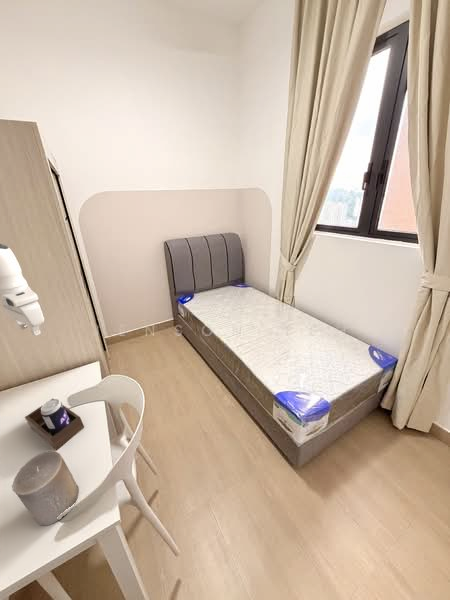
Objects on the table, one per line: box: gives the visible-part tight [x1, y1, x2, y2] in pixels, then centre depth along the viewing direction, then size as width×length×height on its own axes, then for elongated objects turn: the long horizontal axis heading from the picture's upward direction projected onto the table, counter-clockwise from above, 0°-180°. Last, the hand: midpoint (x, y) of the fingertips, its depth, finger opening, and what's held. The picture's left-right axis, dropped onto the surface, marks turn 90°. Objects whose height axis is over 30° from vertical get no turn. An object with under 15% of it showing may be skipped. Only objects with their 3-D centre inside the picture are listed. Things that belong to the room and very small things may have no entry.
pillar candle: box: [11, 450, 80, 527], centre depth 58 cm, size 10×10×15 cm
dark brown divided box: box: [24, 398, 85, 451], centre depth 81 cm, size 17×9×5 cm, turn 60°
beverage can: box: [40, 398, 70, 436], centre depth 77 cm, size 6×6×12 cm
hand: (30, 331), depth 82 cm, fingers open, 8 cm apart
